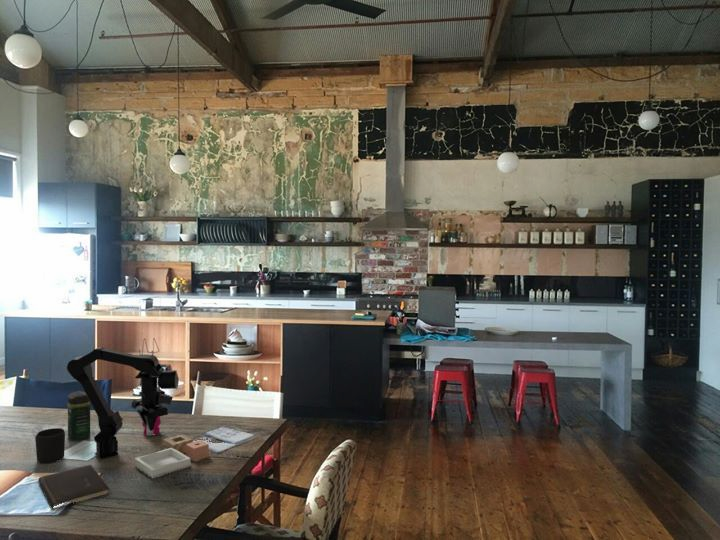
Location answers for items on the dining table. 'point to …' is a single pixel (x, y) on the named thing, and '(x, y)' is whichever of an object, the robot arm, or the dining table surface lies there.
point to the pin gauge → (149, 431)
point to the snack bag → (226, 439)
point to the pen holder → (50, 445)
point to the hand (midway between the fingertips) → (149, 429)
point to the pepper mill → (156, 427)
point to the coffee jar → (78, 416)
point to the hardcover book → (72, 485)
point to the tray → (162, 462)
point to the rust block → (197, 450)
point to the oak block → (177, 442)
